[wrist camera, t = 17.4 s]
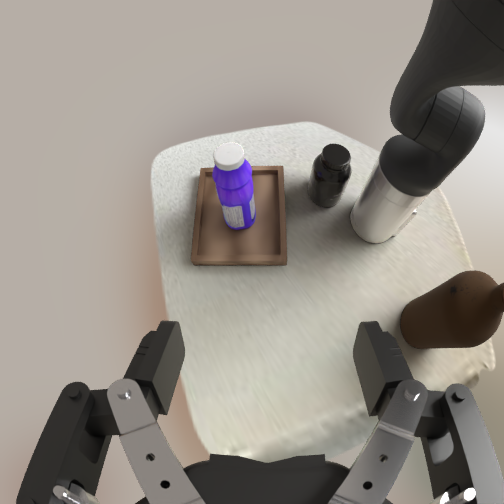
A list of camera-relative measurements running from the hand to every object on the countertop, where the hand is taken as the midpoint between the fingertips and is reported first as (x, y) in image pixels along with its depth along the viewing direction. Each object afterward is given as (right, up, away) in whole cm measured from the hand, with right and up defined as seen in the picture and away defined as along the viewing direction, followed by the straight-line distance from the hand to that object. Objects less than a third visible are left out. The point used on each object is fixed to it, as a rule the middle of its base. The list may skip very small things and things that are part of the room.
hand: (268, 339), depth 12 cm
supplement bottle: (+13, +15, +42) cm, 46 cm away
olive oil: (+30, -9, +32) cm, 45 cm away
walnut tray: (-3, +10, +41) cm, 42 cm away
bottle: (-3, +10, +40) cm, 41 cm away
